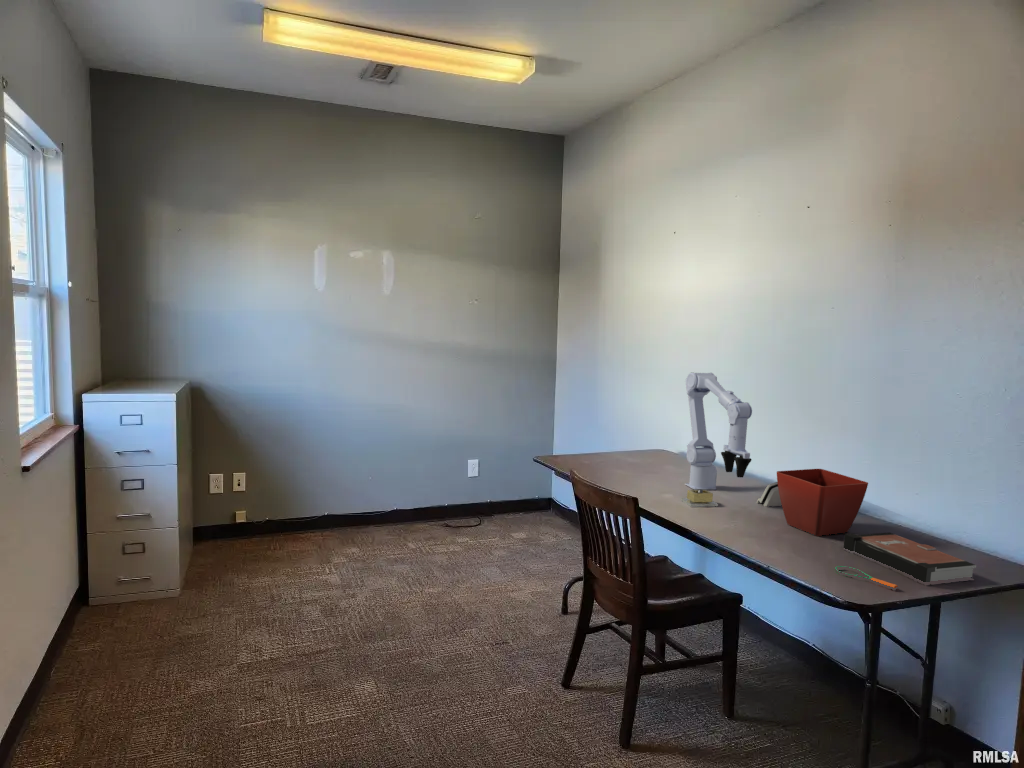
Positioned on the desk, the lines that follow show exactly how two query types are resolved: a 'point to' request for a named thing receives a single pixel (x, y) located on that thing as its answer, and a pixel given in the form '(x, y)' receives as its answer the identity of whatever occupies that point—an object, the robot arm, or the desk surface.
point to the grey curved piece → (770, 496)
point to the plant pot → (820, 500)
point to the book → (909, 556)
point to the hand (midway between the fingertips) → (734, 474)
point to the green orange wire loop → (873, 579)
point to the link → (699, 496)
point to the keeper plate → (699, 504)
